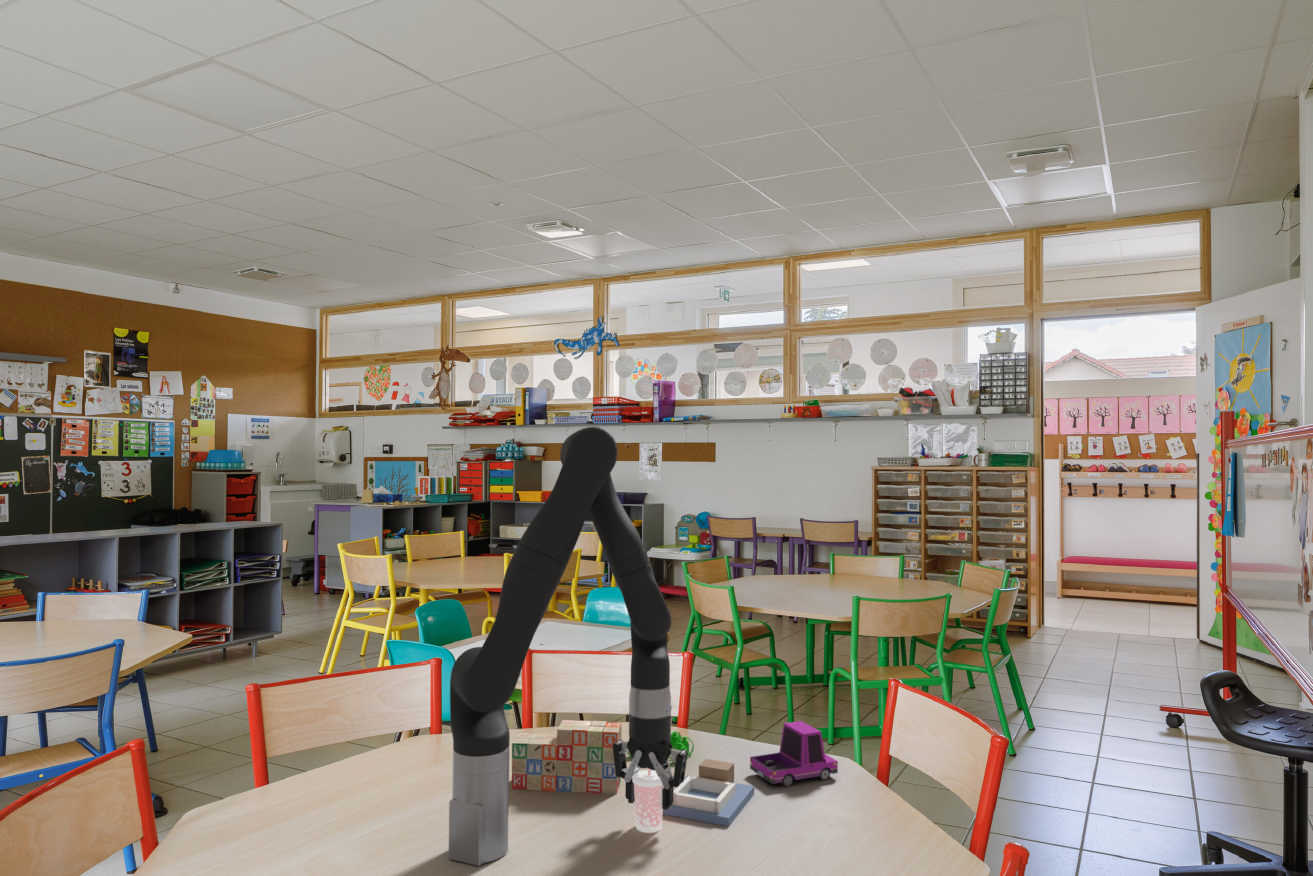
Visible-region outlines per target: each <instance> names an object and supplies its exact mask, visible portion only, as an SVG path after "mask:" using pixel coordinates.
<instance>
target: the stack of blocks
mask: <svg viewBox="0 0 1313 876" xmlns="http://www.w3.org/2000/svg"><path fill="white" fill-rule="evenodd" d="M622 725H623V724H622V722H614V721H613V722H611V721H609V722H607V721H606V720H604V721H603V720H573V719H572V720H571V719H569V720H567V719H562V721H561V722H560V723H559V726H558V728H557V730H556V731H557V732H556V734H547V733H528V732H527V733H525V732H524V733H523V732H520V733H518V734H517V735H516V737H515V739H514V740H513V741H512V742H511V789H514V790H528V791H545V792H546V791H547V792H550V791H551V792H566V793H567V792H571V793H572V792H573V793H588V794H589V793H591V794H608V795H609V794H610V795H612V794H613V795H618V793H619V789H620V785H621V782H622V778H621V777H617V776H616V774H615V765H614V755H613V744H614V743H616V742H617V741H619V740H623V738H622V730H623V729H622V728H623V726H622Z"/></svg>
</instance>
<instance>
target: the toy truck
mask: <svg viewBox="0 0 1313 876" xmlns="http://www.w3.org/2000/svg"><path fill="white" fill-rule="evenodd" d="M838 767H839V766H838V761H837V759H834V758H833V757H832V756H829V755H828V754H826V753H825V748H824V740H823V734H822V731H821V730H819V729H817V728H815V727H813V726H811V725H809V724H807V723H806V722H804V721H802V720H799V721H792V722H785V723H783V727H782V734H781V740H780V746H779V752H774V753H767V754H761V755H754V756H750V758H749V769H750V770H751V771H752V772H754V773H756V774H757V775H758V776H760V777H761V778H763V779H764V780H765V781H767V782H769V783H770V784H772V785H774V784H775V785H776V784H781V785H782V786H784V787H786V788H788V787H791V786H792V785H793V783H794V781H799V780H803V779H810V778H817V777H818V779H819V780H820V781H828V780H829V778H830V776H831V774H832V775H835V774H838V773H839V772H838ZM827 779H828V780H827Z"/></svg>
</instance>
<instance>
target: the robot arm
mask: <svg viewBox="0 0 1313 876" xmlns="http://www.w3.org/2000/svg"><path fill="white" fill-rule="evenodd" d="M618 454H619V453H618V446H617V441H616V440H615V437H614V436H613V434H611V432H609V431H608V429H605V428H603V427H598V426H587V427H584V428H581V429H579V430H577V431H575V432H573V433H572V434H570V435H568V437H567V438H565V440H564V442H563V443H562V445H561V447H560V455H559V456H560V463H561V469H560V471H559V474H558V476H557V479H556V482H555V484H554V485H553V488H552V490H551V492H550V494H549V496H548V497H547V498H546V500H545V501H544V503H543V505H542V506H541V508H540V509H538V511H537V513H536V514H535V516H534V517H533V518H532V520H531V521H530V523H529V524H528V526H527V528H526V530H524V532H523V534H522V536H521V537H520V539H519V541H518V544H517V546H516V548H515V549H514V552H513V554H512V556H511V558H510V561H509V563H508V565H507V568H506V570H505V574H504V577H503V581H502V586H501V591H500V596H499V601H498V605H497V606H498V607H497V612H496V615H495V619H494V621H493V624H492V627H491V628H490V631H489V633H488V635H487V636H486V639H485V640H484V643H483V644H482V646H476V647H475V646H474V647H471V648H468V649H467V650H464V652H462V653H461V654H460V655H459V656H458V657H457V659H456V660H455V662H454V663H453V666H452V667H451V672H450V678H449V679H450V680H449V681H450V682H449V714H450V715H449V717H450V730H451V734H452V735H451V736H452V740H453V741H452V743H453V745H452V746H453V747H452V796H451V797H452V799H450V800H449V805H448V806H449V807H448V811H449V813H448V860H452V861H456V862H461V863H465V864H468V865H472V866H473V865H474V866H477V867H480V866H482V865H483V864H486V863H490V862H493V861H496V860H498V859H500V858H502V857H504V856H505V855H506V853H508V850H509V813H510V812H509V811H510V810H509V805H510V804H509V803H510V802H509V800H510V799H509V798H510V797H509V795H510V789H509V788H510V740H511V739H510V728H509V725H508V722H507V719H506V714H505V704H506V703H508V701H509V700H510V699H511V697H512V696H513V694H514V691H515V689H516V686H517V684H518V682H519V678H520V675H521V673H522V669H523V667H524V663H525V660H526V657H527V655H528V653H529V649H530V645H532V641H533V638H534V636H535V634H536V632H537V630H538V628H539V627H540V626H539V625H541V624H540V623H541V622H542V619H543V618H544V615H545V614H546V611H547V609H548V607H549V604H550V602H551V600H552V598H553V596H554V595H555V592H556V591H557V588H558V586H559V584H560V582H561V580H562V578H563V575H564V573H565V572H566V571H565V570H566V569H567V566H568V564H569V562H570V559H571V557H572V554H573V552H574V550H575V547H576V545H577V542H578V540H579V538H580V534H581V532H582V529H583V528H584V527H583V526H584V524H585V522H586V519H587V516H588V514H589V516H590V519H591V521H592V524H593V526H594V529H595V531H596V534H597V536H598V539H599V541H600V544H601V546H602V550H603V551H604V555H605V557H606V561H607V563H608V566H609V568H610V570H611V573H612V577H613V578H614V580H615V583H616V585H617V587H618V589H619V590H620V592H621V595H622V597H623V598H622V599H623V602H624V605H625V607H626V610H627V614H628V617H629V620H630V640H631V662H630V690H629V698H628V700H629V701H628V708H629V709H628V736H629V738H628V741H624V740H623V739H622V740H619V741H617V742H616V743H614V744H613V755H614V765H615V774H616V776H617V777H621V779H623V780H624V782H625V790H624V791H625V794H624V795H625V799H626V800H627V803H628V804H635V797H634V783H633V781H632V780H633V779H632V776H633V775H634V773H636V772H639V771H640V769H648V768H649V769H651V770H655V771H656V773H657V775H658V777H659V778H660V779H661V781H662V784H663V786H664V788H663V789H662V809H664V810H667V809H668V808H669V807H670V806H671V805H672V804H673V789H674V788H675V787H678V786H679V785H680V784H681V783H683V782H684V778H685V777H686V776H685V774H686V769H687V768H686V767H687V761H688V759H687V755H688V752H687V750H685V749H683V750H682V751H680V750H677V749H673V747H672V745H671V742H670V738H671V734H672V727H671V726H672V709H673V707H672V696H671V689H670V688H671V685H670V683H671V682H670V679H671V676H670V673H671V672H670V671H671V670H670V668H671V667H670V666H671V665H670V663H671V662H670V657H669V654H668V633H669V631H670V630H671V627H672V615H671V612H670V610H669V609H670V608H668V605H667V602H666V601H665V598H664V596H663V594H662V591H661V589H660V587H659V585H658V583H657V581H656V579H655V578H656V577H655V574H654V570H653V567H652V563H651V561H650V558H649V555H648V553H647V551H646V549H645V545H644V543H643V540H642V539H641V536H640V534H639V532H638V530H637V528H636V526H635V525H634V523H633V521H632V520H631V518H630V516H629V515H628V514H627V512H626V510H625V509H624V506H623V505H622V502H621V500H620V498H619V496H618V494H617V490H616V487H615V485H614V482H613V479H612V478H613V477H612V475H611V473H612V471H613V469H614V468H615V465H616V463H617V459H618ZM627 751H628V753H629V754H630V755H631V756H632V757H631V758H632V760H631V762H630V764H629V766H628V765H627V757H626V754H627ZM670 756H671V757H672V761H673V763H675V764H674V771H673V773H672V768H671V765H670V762H669V758H670ZM688 756H689V755H688ZM667 759H668V760H667Z"/></svg>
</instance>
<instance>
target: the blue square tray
mask: <svg viewBox="0 0 1313 876" xmlns="http://www.w3.org/2000/svg"><path fill="white" fill-rule="evenodd" d="M754 795H755V785H749V784H743V783H739V782H735V763H733V762H729V761H727V762H726V761H721V760H714V759H707V758H705V759H704V760H703V761H701V763H700V764H699V765H698V776H695V775H686V776H685V777H684V782H683V783H681V784H680V785H679V786H678V787H673V804H672V805H671V806H670V807H669V808H668V809H667V810H664V809H663V815H665V816H671V817H676V818H682V819H687V820H692V821H698V822H703V823H707V824H714V825H718V826H725V827H730V826H731V824H732V823H733V822H734V821H735V819H736V818H737V817H738V815H739V814H740V813H741V812H742V811H743V809H744V808H745V806H746V805H747V804H748V803H749V802H750V800H751V799H752V798H753V796H754Z"/></svg>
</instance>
